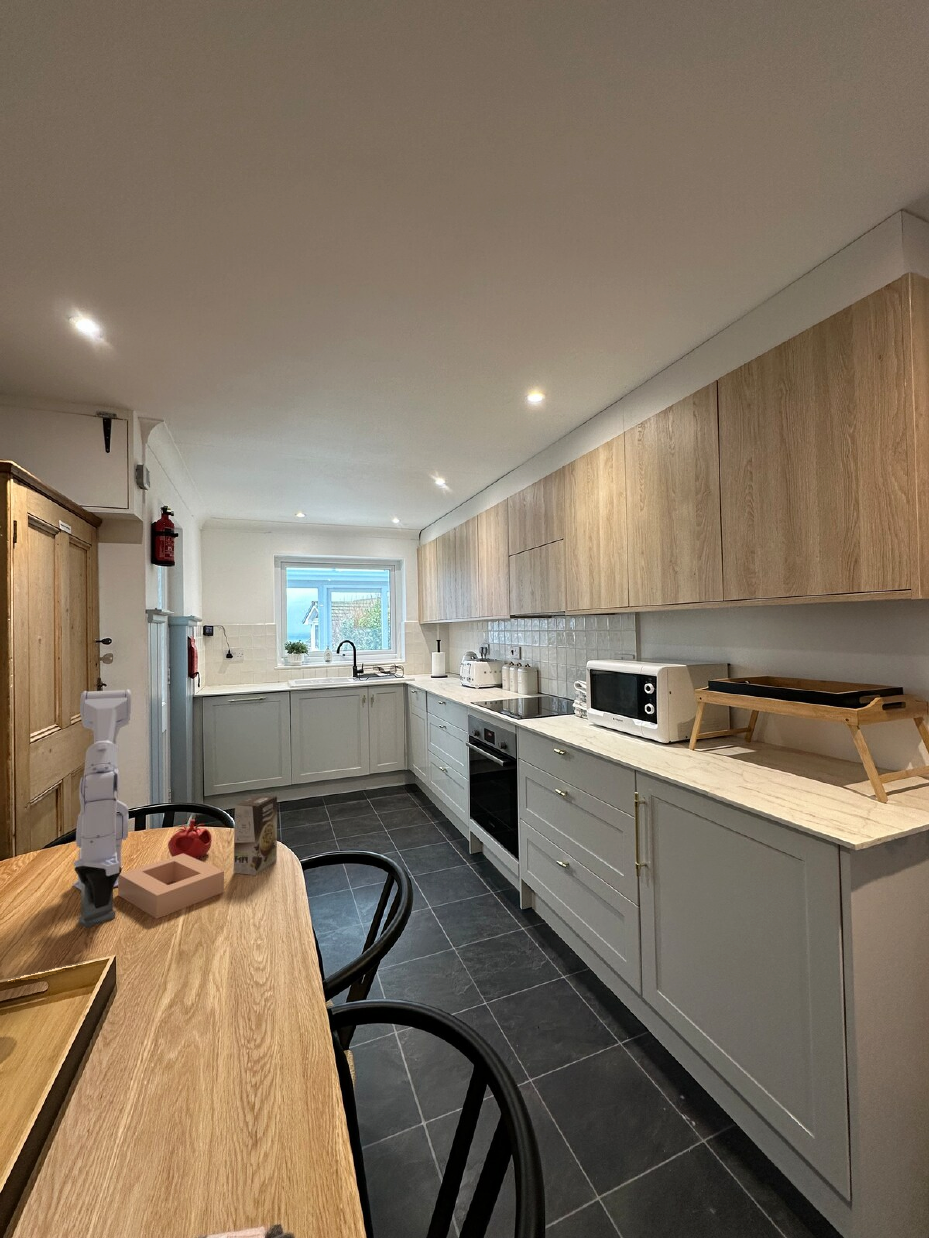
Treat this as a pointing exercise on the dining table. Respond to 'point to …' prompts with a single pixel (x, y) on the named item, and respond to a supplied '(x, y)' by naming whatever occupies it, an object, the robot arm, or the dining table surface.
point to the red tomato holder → (190, 841)
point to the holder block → (161, 899)
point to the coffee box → (255, 834)
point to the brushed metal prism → (93, 908)
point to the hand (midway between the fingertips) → (97, 903)
